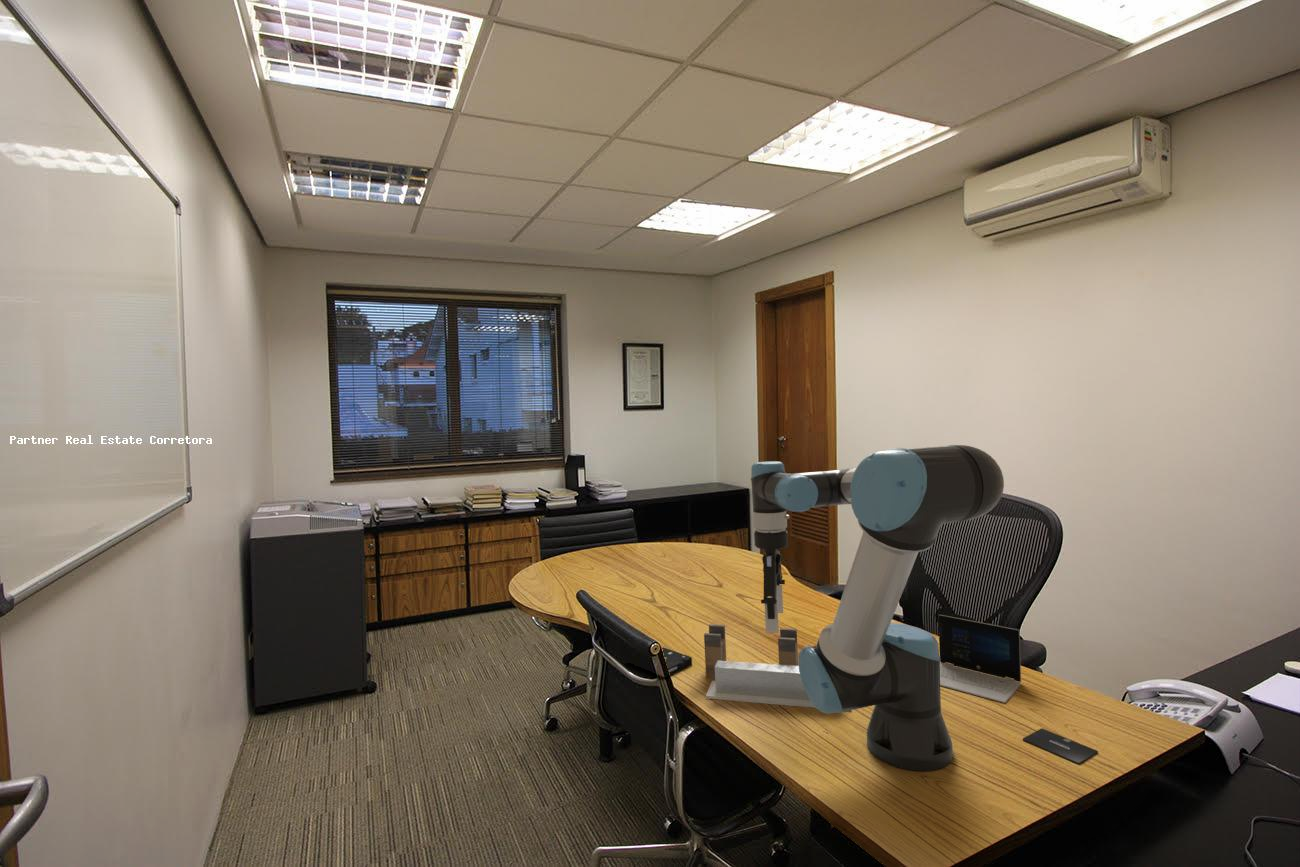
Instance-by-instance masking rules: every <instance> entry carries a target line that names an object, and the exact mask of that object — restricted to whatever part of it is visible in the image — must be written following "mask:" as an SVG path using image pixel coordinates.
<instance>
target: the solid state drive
mask: <svg viewBox="0 0 1300 867" xmlns="http://www.w3.org/2000/svg"><path fill="white" fill-rule="evenodd" d="M1022 741H1023V742H1025V743H1027V744H1029V745H1032V746H1034V747H1036V748H1039V749H1041V750H1043V751H1045V752H1048V753H1051V754H1053V755H1055V756H1058V757H1059V758H1062V759H1065V760H1066V761H1068V762H1071V763H1074V764H1076V765H1082V764H1083V763H1085V762H1086V761H1087V760H1089V759H1091V758H1092V757H1094V756H1096V755H1098V753H1099V751H1098V750H1097V749H1094V748H1091V747H1089V746H1087V745H1084V744H1082V743H1079V742H1077V741H1074V740H1072V739H1070V738H1067V737H1064V736H1062V735H1060V734H1057V733H1055V732H1053V731H1050V730H1048V729H1045V728H1039V729H1037V730H1036V731H1034V732H1032V733H1030V734H1028V735H1026V736H1024V737H1023V738H1022Z"/></svg>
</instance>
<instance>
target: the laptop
mask: <svg viewBox="0 0 1300 867" xmlns="http://www.w3.org/2000/svg"><path fill="white" fill-rule="evenodd" d="M1020 632H1021V631H1020V629H1018V628H1012V627H1006V626H1001V625H997V624H991V623H985V622H981V621H975V620H971V619H964V618H960V617H953V616H949V615H943V614H938V636H939V637H938V640H939V641H938V649H939V657H940V687H944V688H947V689H951V690H954V691H959V692H962V693H965V694H969V695H973V696H976V697H979V698H983V699H988V700H992V701H995V702H999V703H1001V704H1005V703H1007V702H1008V701H1009V700H1010V698H1011V697H1012V696H1014V694H1015V692H1016V691H1017V690H1018V689H1019V687H1020V686H1021V685H1022V684H1021V682H1022V669H1021V668H1022V664H1021V633H1020Z"/></svg>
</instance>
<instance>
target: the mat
mask: <svg viewBox="0 0 1300 867" xmlns="http://www.w3.org/2000/svg"><path fill="white" fill-rule="evenodd" d="M705 699H706V700H707V699H709V700H710V699H711V700H718V701H719V700H721V701H730V702H731V701H732V702H733V701H735V702H744V703H755V704H764V705H765V704H766V705H767V704H768V705H769V704H770V705H776V706H777V705H779V706H787V707H788V706H790V707H791V706H792V707H802V708H813V709H817V708H816V707H815V706H814V705H813V704H812V702H811V701H809V700H797V699H785V698H773V697H761V696H749V695H737V694H725V693H716V685H715V680H711V682H710V685H709V687H708V689H707V692H706V695H705ZM848 712H852V710H849V711H848Z"/></svg>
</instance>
